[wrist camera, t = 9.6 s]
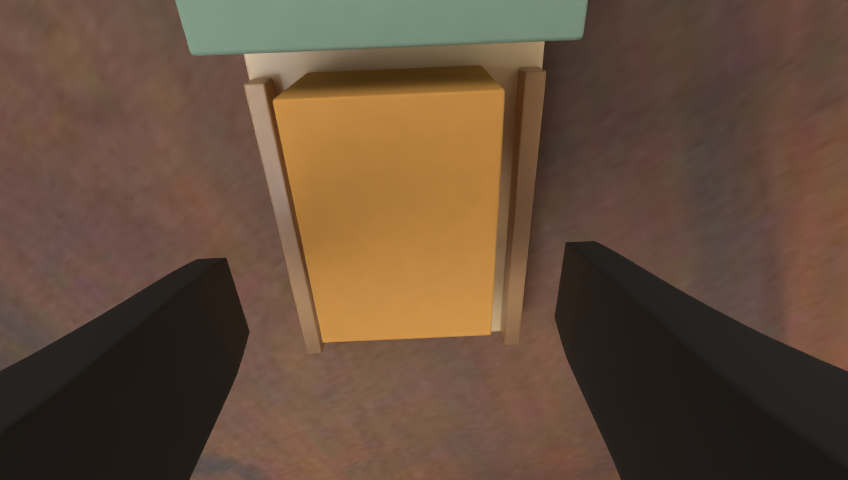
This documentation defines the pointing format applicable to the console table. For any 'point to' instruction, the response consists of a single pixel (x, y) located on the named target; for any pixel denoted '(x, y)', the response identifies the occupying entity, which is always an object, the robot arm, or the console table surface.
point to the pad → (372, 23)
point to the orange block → (396, 198)
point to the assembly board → (520, 144)
